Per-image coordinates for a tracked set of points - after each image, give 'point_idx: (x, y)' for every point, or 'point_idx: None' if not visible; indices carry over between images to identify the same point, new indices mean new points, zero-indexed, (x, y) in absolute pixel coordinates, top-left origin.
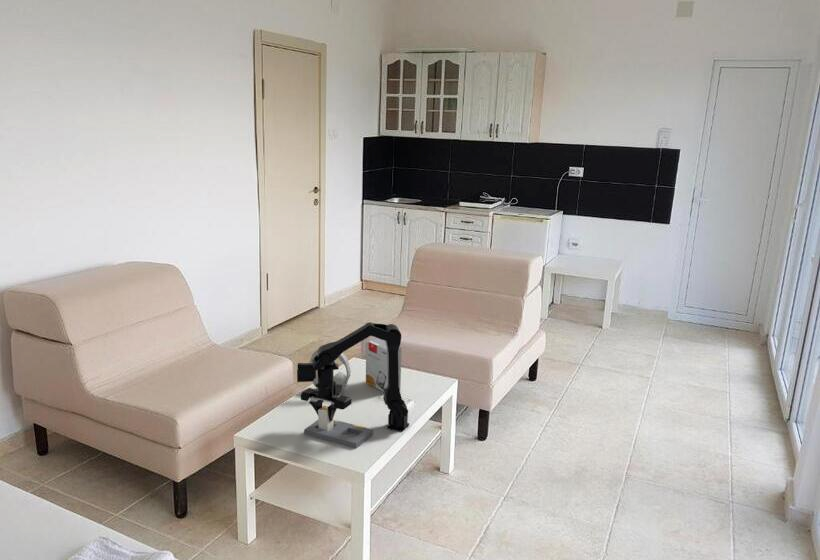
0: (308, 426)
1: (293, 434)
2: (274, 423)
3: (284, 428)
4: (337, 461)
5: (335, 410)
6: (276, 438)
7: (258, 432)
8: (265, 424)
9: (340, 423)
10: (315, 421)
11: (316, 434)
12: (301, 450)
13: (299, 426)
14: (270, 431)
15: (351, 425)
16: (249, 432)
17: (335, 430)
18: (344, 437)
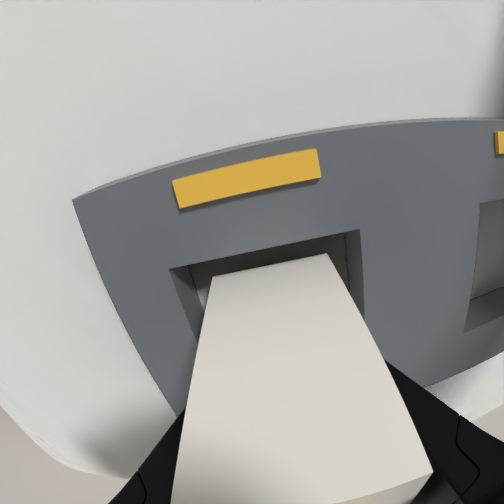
0: (168, 402)
1: (152, 424)
2: (6, 379)
3: (66, 399)
4: (480, 410)
5: (484, 447)
6: (143, 460)
7: (62, 446)
8: (7, 398)
9: (372, 179)
10: (121, 320)
11: None
12: None
13: (77, 352)
14: (70, 433)
15: (478, 150)
16: (52, 451)
17: (410, 323)
18: (494, 336)
